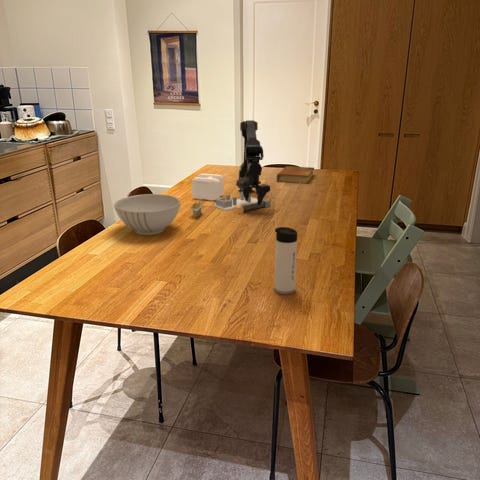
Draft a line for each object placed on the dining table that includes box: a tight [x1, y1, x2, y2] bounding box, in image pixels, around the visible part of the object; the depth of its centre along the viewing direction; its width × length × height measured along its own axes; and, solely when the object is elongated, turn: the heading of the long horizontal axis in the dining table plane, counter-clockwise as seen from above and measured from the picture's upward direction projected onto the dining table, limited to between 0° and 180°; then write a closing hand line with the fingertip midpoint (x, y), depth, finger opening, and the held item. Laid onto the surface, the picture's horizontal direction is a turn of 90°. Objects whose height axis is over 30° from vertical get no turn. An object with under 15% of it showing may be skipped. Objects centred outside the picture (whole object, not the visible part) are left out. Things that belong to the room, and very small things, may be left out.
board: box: [213, 191, 258, 212], centre depth 227 cm, size 23×10×5 cm, turn 128°
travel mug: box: [273, 226, 298, 295], centre depth 137 cm, size 6×7×20 cm
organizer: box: [190, 173, 225, 202], centre depth 237 cm, size 15×11×12 cm
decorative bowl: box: [113, 193, 182, 236], centre depth 190 cm, size 27×27×12 cm
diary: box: [276, 165, 315, 185], centre depth 279 cm, size 23×19×6 cm
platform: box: [189, 201, 204, 219], centre depth 209 cm, size 12×18×7 cm, turn 168°
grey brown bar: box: [233, 199, 271, 215], centre depth 219 cm, size 20×3×3 cm, turn 128°
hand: (252, 203), depth 219 cm, fingers open, 9 cm apart
